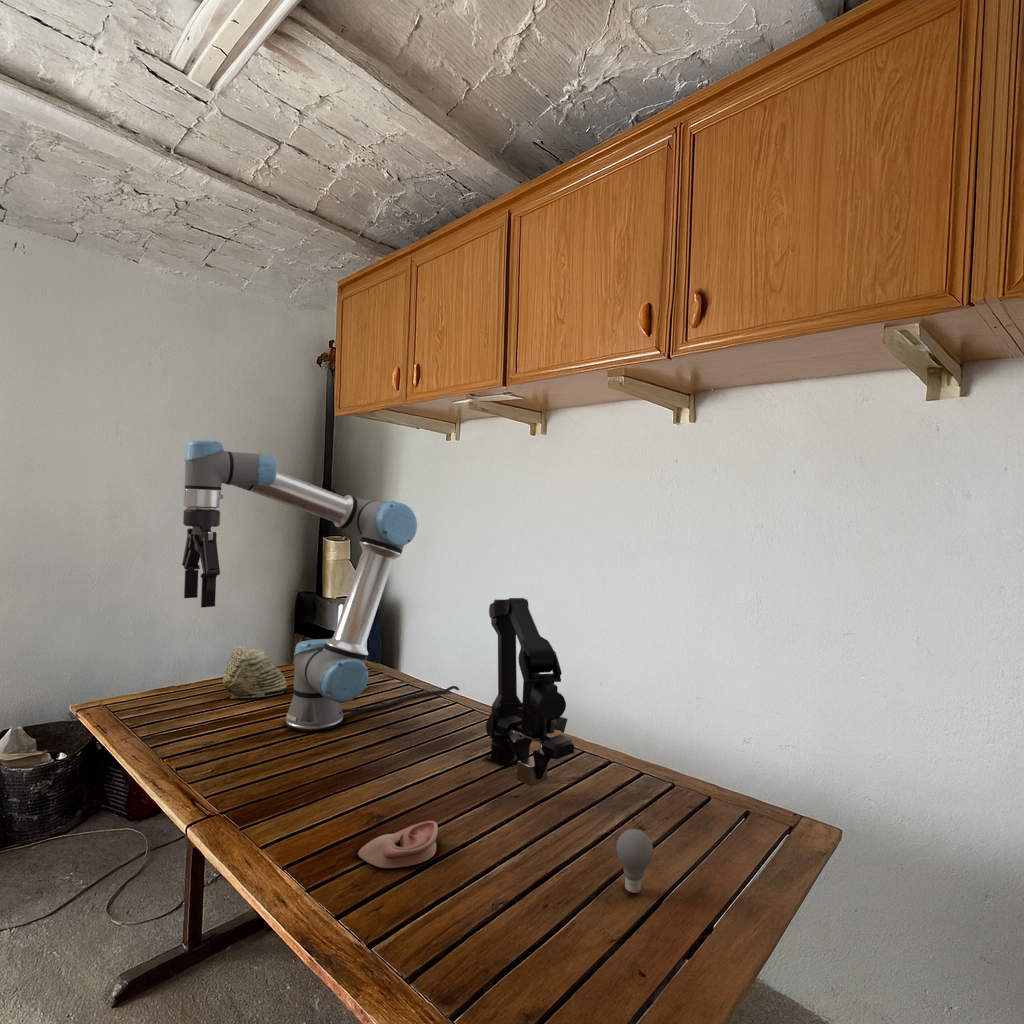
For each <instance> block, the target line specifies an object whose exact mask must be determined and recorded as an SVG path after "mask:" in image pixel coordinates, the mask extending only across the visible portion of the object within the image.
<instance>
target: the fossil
mask: <svg viewBox="0 0 1024 1024" xmlns="http://www.w3.org/2000/svg"><path fill="white" fill-rule="evenodd" d="M222 676H223V677H222V685H223V687H224V688H225V690H226V691H228V693H229V698H230V699H250V698H264V697H271V696H275V695H281V694H284V693H285V691H286V689H287V687H288V686H287V680H286V678H285V676H284V674H283V673H282V672H281V669H279V668H278V667H277V665H276V663H275V662H274V660H273V659H272V658H271V657H270V656H269V655H268V654H267V653H266V652H265V650H264V649H263V648H260V647H258V648H251V647H247V646H246V647H245V646H238V647H237V648H236V649H235V650H233V651H232V653H231V656H230V657H229V659H228V660H227V663H226V666H225V668H224V671H223V675H222Z"/></svg>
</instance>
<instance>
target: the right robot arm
mask: <svg viewBox="0 0 1024 1024" xmlns="http://www.w3.org/2000/svg"><path fill="white" fill-rule="evenodd" d="M529 606H530V605H529V600H528V598H524V597H509V598H505V599H494V600H493V602H491V603H490V604H489V607H488V615H489V618H490V622H491V623H490V624H491V627H492V628H493V629H494V631H495V633H496V634H497V695H496V697H495V699H494V701H493V703H492V704H491V713H489V716H488V717H487V719H486V722H485V731H486V734H487V736H488V737H489V738H490V739H491V743H490V745H491V746H490V754H489V755H487V756H486V757H485V758H486V761H487V760H488V761H491V762H493V763H497V764H499V765H502V766H505V767H507V766H510V765H511V764H513V763H515V762H518V761H519V760H522V759H525V758H528V757H530V752H531V751H530V750H531V744H532V742H535V743H538V744H539V748H538V749H535V750H532V756H533V757H534V764H535V771H536V776H537V779H538V780H539V779H542V777H543V774H544V772H545V769H546V767H547V765H548V766H549V763H550V760H551V759H552V760H559V759H561V758H564V757H567V756H570V755H572V754H574V753H575V742H574V741H573V740H572V738H568V737H566V736H564V735H562V734H558V735H555V736H551V737H550V736H548V734H549V735H551V734H554V733H555V731H557V732H560V733H563V734H564V733H565V730H566V727H567V723H568V717H565V716H563V714H564V713H565V711H566V708H567V702H566V700H565V697H564V695H562V693H561V692H559V690H558V685H557V684H556V683H561V682H562V677H561V676H562V675H563V673H562V669H561V665H560V662H559V658H558V656H557V652H556V651H555V650H554V648H553V646H552V644H551V643H550V641H549V640H548V639H546V638H545V637H543V636H541V634H540V632H539V629H538V628H537V625H536V622H535V620H534V618H533V615H532V613H531V611H530V609H529V608H530V607H529ZM517 640H518V643H519V645H520V648H519V653H518V657H517ZM517 658H518V660H517ZM517 661H518V666H519V670H520V672H521V676H522V680H523V682H522V683H523V684H522V701H521V700H520V698H519V696H518V691H517V690H518V680H517V678H518V677H517V674H518V673H517V672H518V671H517V670H518V669H517Z"/></svg>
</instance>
